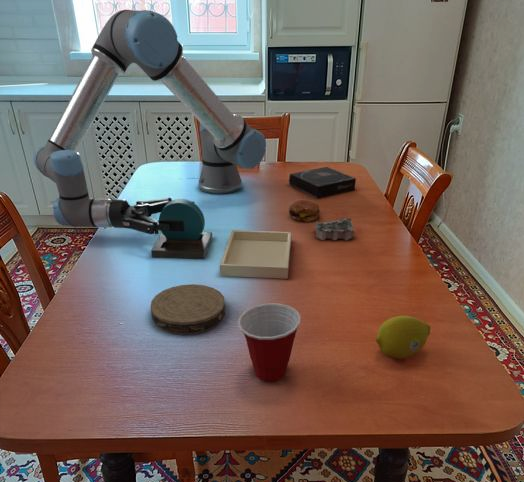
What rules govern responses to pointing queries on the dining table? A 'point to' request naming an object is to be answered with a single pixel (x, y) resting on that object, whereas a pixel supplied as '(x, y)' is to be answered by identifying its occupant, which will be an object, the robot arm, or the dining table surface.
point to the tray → (257, 254)
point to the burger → (304, 210)
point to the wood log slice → (188, 309)
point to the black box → (322, 182)
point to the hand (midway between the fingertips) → (189, 216)
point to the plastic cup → (270, 338)
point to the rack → (182, 247)
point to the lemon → (402, 336)
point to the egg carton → (335, 229)
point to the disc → (189, 214)
